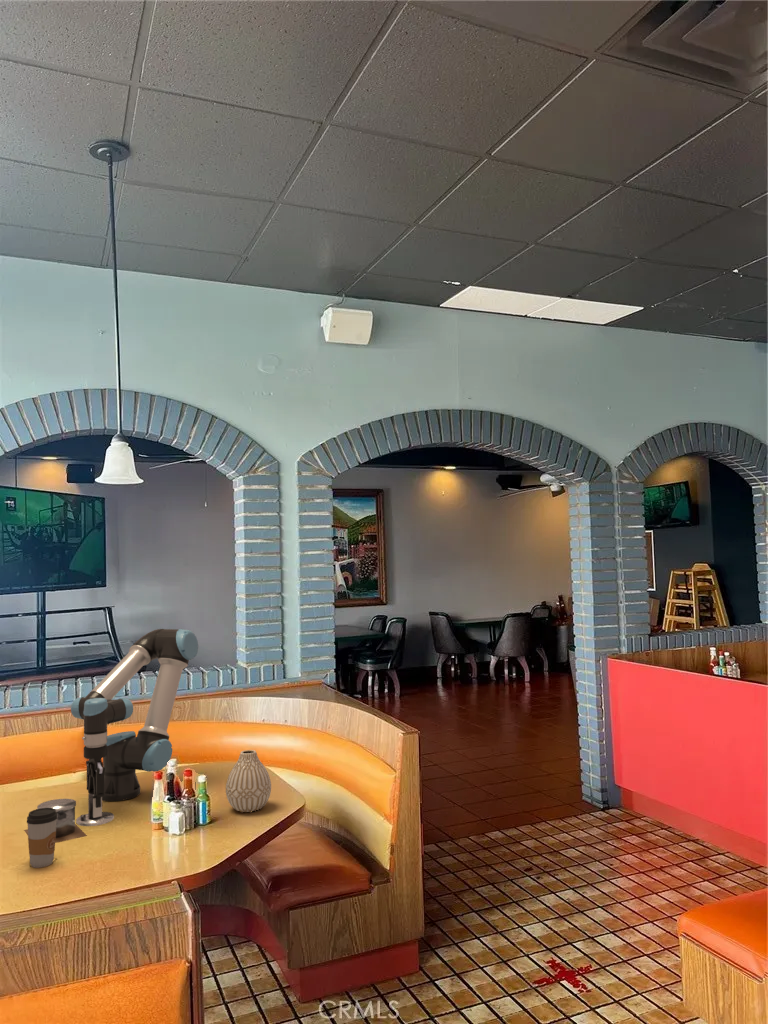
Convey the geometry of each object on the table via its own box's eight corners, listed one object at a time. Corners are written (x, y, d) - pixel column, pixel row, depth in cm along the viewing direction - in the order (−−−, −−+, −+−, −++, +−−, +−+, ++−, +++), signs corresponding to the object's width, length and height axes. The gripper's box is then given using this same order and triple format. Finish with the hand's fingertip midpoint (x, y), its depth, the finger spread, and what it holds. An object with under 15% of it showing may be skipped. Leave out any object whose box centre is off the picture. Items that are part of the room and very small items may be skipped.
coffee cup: (45, 870, 222) (45, 817, 223) (19, 868, 224) (20, 815, 225) (63, 859, 230) (63, 807, 231) (38, 857, 232) (38, 806, 233)
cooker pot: (32, 829, 254) (32, 801, 254) (68, 822, 261) (69, 794, 261) (43, 843, 241) (43, 814, 242) (81, 835, 248) (82, 806, 248)
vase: (216, 813, 269) (216, 755, 270) (241, 799, 284) (241, 744, 285) (256, 818, 263) (255, 759, 264) (279, 804, 278) (279, 748, 279)
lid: (107, 814, 271) (107, 786, 271) (118, 823, 261) (118, 794, 262) (72, 821, 264) (72, 792, 264) (81, 831, 254) (81, 801, 255)
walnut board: (71, 822, 263) (71, 820, 263) (87, 838, 247) (87, 835, 247) (23, 832, 254) (23, 830, 254) (37, 849, 238) (37, 846, 239)
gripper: (77, 742, 269) (76, 810, 267) (91, 751, 255) (91, 824, 253) (99, 738, 273) (98, 806, 272) (114, 748, 259) (114, 819, 258)
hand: (95, 814), depth 263 cm, fingers closed on lid, 4 cm apart
